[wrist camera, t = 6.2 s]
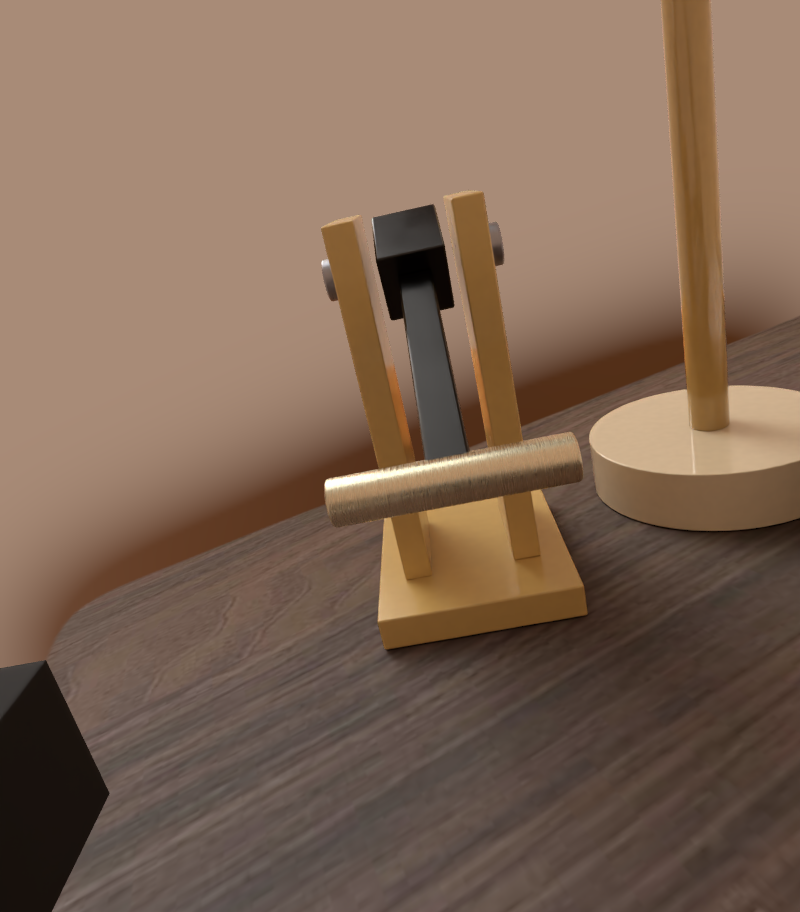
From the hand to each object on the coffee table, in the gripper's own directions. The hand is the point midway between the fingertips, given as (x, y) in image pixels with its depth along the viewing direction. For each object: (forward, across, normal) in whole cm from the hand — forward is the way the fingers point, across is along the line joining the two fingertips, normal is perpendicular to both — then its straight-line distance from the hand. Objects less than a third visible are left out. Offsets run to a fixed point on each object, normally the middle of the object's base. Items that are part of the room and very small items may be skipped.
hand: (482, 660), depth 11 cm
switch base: (+16, 0, -8) cm, 17 cm away
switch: (+12, 0, +1) cm, 12 cm away
